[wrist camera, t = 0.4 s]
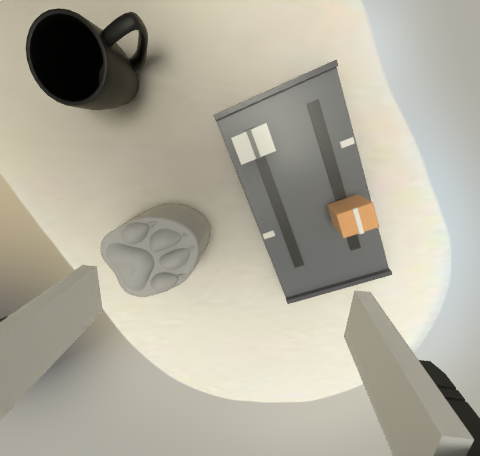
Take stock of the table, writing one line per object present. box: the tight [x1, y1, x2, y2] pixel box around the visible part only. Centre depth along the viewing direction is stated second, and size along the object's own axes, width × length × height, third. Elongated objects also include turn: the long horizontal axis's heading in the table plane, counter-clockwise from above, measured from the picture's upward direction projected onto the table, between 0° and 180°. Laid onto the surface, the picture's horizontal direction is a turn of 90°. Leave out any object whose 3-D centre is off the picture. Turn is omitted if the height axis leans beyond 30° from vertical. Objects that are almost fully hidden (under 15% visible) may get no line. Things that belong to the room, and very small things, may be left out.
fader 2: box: [327, 194, 379, 238], centre depth 32 cm, size 3×4×5 cm
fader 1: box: [231, 123, 276, 165], centre depth 30 cm, size 3×4×5 cm
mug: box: [26, 9, 148, 110], centre depth 29 cm, size 8×12×10 cm
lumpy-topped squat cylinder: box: [101, 204, 210, 297], centre depth 36 cm, size 10×13×9 cm
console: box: [214, 60, 392, 304], centre depth 35 cm, size 28×15×3 cm, turn 22°
